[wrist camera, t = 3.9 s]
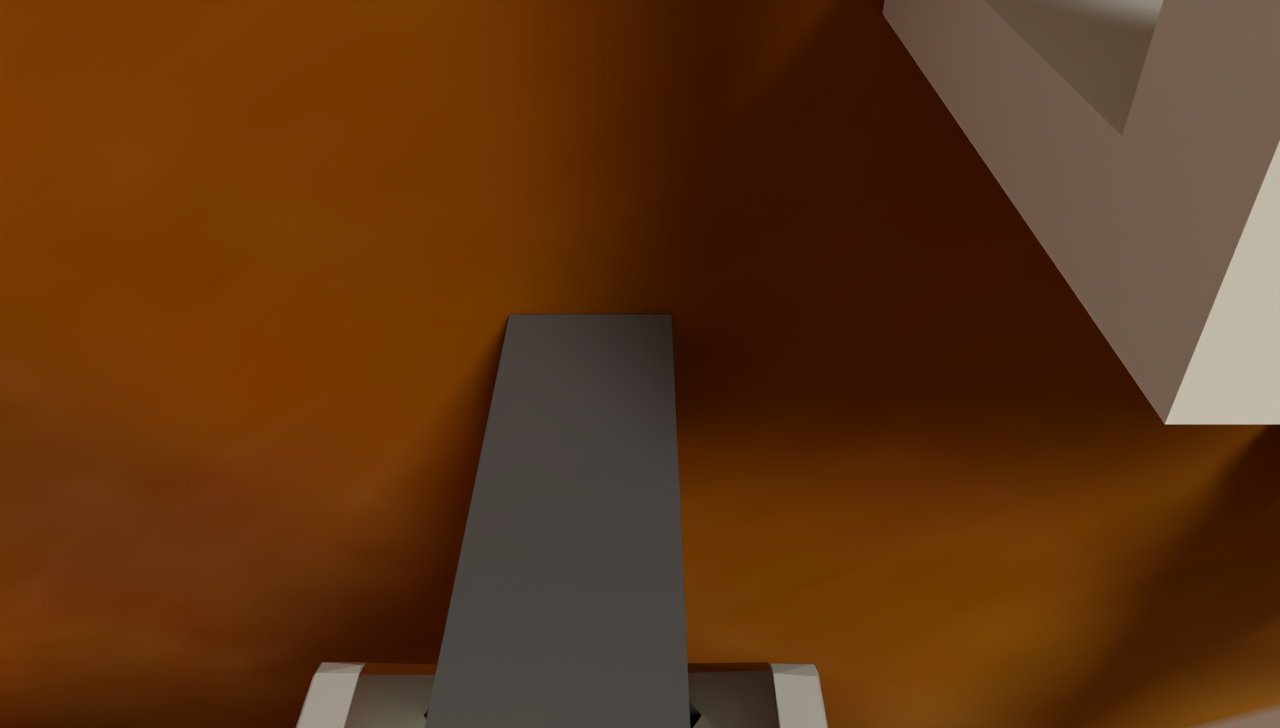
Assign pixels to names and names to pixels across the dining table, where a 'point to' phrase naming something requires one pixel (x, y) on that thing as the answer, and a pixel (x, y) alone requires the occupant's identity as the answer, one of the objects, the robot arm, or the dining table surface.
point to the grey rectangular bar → (572, 537)
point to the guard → (1136, 172)
